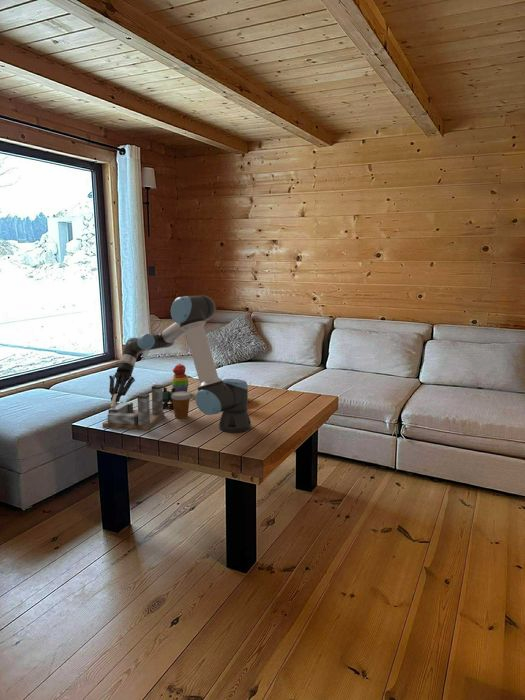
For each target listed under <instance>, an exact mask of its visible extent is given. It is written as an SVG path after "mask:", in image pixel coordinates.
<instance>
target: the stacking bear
mask: <svg viewBox="0 0 525 700" xmlns="http://www.w3.org/2000/svg"><path fill="white" fill-rule="evenodd" d="M186 369H187V368H186V366H185V365H183V364H181V363H179V364H176V365H175V367H173V369H172V372H173V373H174V374H173V376H172V380H171V384H172V385H171V386H172V388H175V391H176V392H179V391H185V392H189V391H188V389H189V378H188V375H186Z"/></svg>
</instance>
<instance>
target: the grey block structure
mask: <svg viewBox="0 0 525 700" xmlns="http://www.w3.org/2000/svg"><path fill="white" fill-rule="evenodd" d="M163 387H164V386H163V384H153V385H152V386H151V410H150V393H140V394H138V395H137V409H134V403H133V402H130V403H129V404H128V412H127V413H117V412H111V413H109V412H108V414H107V419H106V420H105V421H103V422H101V424H102V428H107V427H111V428H110V429H120V428H124V430H134V429H137V430H136V431H149V430H150V429H151V428H152V427H153V426H155V425H156V424H157V423H158V422H157V421H161V419H162V418H164V417H165V411H164V409H163V404H164V403H163V391H164V390H163ZM120 403H124V402H123V401H119V402H118V404H120ZM156 422H157V423H156ZM150 427H151V428H150ZM149 428H150V429H149ZM148 429H149V430H148Z"/></svg>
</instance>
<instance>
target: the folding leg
mask: <svg viewBox="0 0 525 700" xmlns="http://www.w3.org/2000/svg"><path fill="white" fill-rule="evenodd" d="M119 403H120V402H119ZM119 403H117V404H116V407H115V409H112V408H111V407H110V408H109V409H108V411H107V413H108V414H109V413H111V412H117V413H127V412H128V404H130V403H128V402H123V403H120V404H119Z"/></svg>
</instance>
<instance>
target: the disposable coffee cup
mask: <svg viewBox="0 0 525 700" xmlns="http://www.w3.org/2000/svg"><path fill="white" fill-rule="evenodd" d="M171 397H172V400H173V406H174V409H173V411H174V417H175V418H176V419H181V420H182V419H186V418H188V416H189V410H190V409H189V408H190V407H189V406H190V398H191V394H190V392H189V391H188V392H185V391H179V392H174V393H172V396H171Z"/></svg>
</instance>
